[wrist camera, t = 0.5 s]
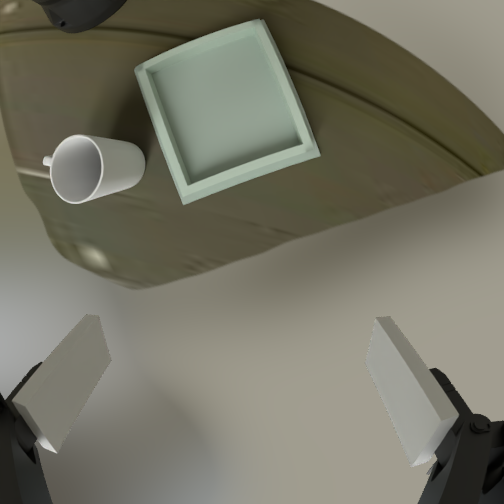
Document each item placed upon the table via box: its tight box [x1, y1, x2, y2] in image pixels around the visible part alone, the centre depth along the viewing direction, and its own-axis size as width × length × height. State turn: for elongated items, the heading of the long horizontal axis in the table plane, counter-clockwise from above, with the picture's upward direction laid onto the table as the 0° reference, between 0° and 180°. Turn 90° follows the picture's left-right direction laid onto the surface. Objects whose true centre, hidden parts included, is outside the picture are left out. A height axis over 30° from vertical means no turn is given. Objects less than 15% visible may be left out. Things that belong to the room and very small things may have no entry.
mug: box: [43, 135, 145, 204], centre depth 29 cm, size 10×7×12 cm, turn 73°
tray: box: [134, 19, 321, 205], centre depth 31 cm, size 20×18×3 cm
